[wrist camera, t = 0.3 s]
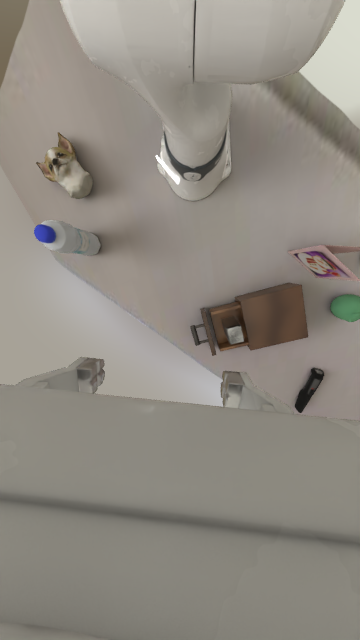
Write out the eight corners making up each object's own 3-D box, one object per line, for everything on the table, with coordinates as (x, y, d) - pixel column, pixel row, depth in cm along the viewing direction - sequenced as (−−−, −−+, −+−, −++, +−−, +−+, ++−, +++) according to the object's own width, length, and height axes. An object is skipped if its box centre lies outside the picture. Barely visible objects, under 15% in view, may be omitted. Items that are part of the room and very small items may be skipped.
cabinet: (244, 341, 61) (250, 350, 54) (234, 297, 58) (240, 300, 51) (294, 329, 59) (308, 337, 52) (288, 282, 56) (301, 284, 49)
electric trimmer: (289, 404, 66) (294, 411, 63) (311, 366, 62) (317, 372, 59) (300, 408, 66) (305, 414, 63) (322, 370, 62) (329, 375, 59)
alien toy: (331, 322, 58) (359, 333, 48) (319, 301, 57) (346, 308, 47) (354, 309, 56) (388, 317, 47) (343, 287, 55) (375, 291, 45)
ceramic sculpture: (61, 202, 45) (13, 150, 44) (82, 214, 54) (43, 171, 52) (90, 166, 43) (41, 110, 42) (108, 184, 52) (67, 138, 50)
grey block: (224, 332, 59) (230, 344, 49) (220, 319, 58) (226, 328, 48) (236, 329, 58) (244, 341, 49) (233, 316, 57) (241, 325, 48)
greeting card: (285, 253, 54) (319, 248, 39) (306, 231, 52) (350, 216, 37) (313, 280, 55) (357, 284, 41) (334, 258, 53) (388, 255, 39)
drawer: (198, 351, 62) (198, 359, 57) (187, 312, 59) (186, 316, 54) (256, 337, 60) (262, 344, 54) (248, 296, 56) (254, 298, 51)
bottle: (103, 258, 57) (57, 253, 38) (80, 255, 57) (24, 248, 38) (103, 233, 55) (56, 215, 36) (80, 230, 55) (21, 210, 36)
